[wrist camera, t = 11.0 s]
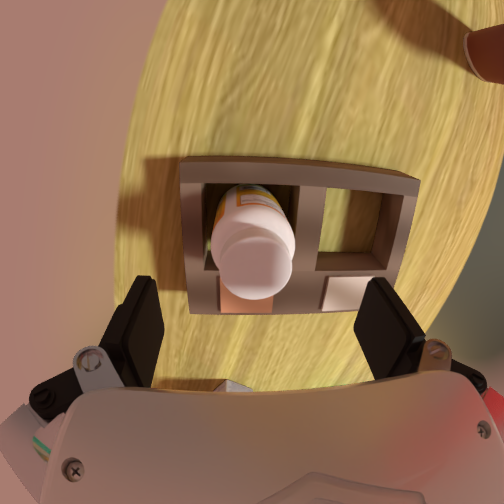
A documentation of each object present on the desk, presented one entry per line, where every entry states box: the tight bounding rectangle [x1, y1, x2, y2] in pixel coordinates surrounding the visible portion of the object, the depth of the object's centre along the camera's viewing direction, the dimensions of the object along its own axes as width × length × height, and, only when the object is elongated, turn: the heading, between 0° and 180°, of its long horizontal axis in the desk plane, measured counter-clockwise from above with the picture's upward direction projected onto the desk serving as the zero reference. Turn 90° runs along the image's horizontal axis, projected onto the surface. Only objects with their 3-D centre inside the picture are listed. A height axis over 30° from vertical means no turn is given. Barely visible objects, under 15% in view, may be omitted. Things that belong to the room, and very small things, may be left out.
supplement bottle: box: [211, 183, 295, 300], centre depth 19 cm, size 5×5×10 cm
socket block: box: [179, 156, 421, 315], centre depth 23 cm, size 13×19×4 cm
